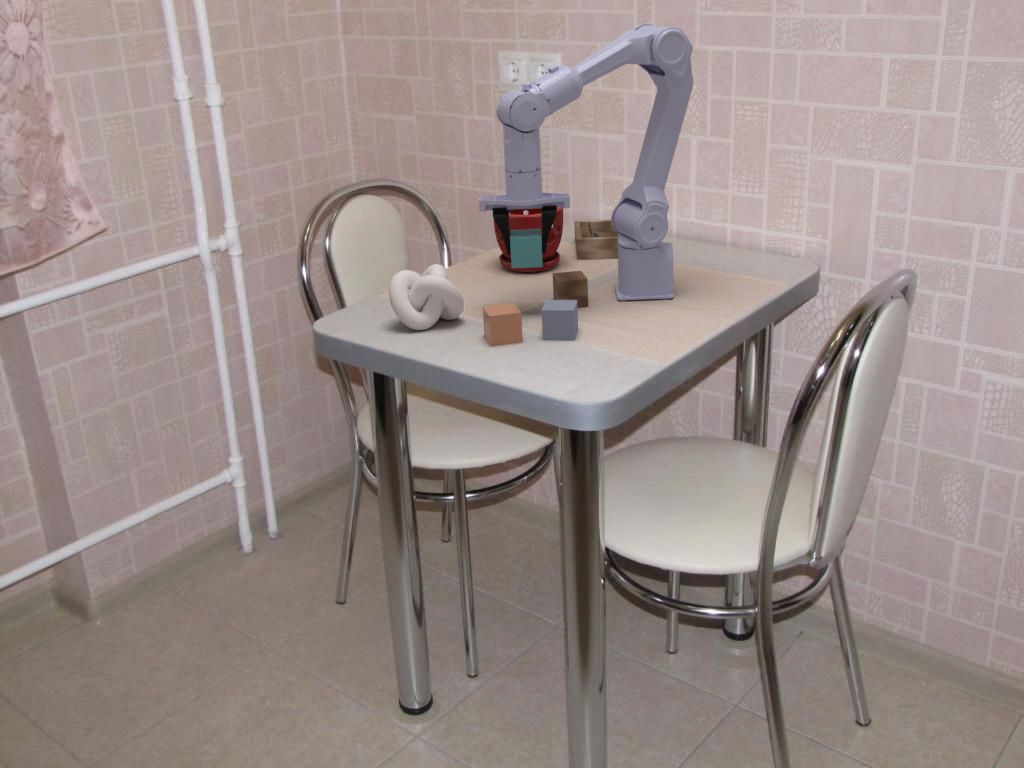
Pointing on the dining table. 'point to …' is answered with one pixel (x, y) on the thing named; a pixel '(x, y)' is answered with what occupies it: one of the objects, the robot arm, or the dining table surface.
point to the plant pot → (532, 222)
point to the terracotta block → (502, 324)
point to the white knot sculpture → (424, 297)
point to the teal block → (526, 248)
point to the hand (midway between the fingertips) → (526, 252)
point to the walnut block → (571, 287)
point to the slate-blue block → (560, 320)
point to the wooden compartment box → (596, 240)
